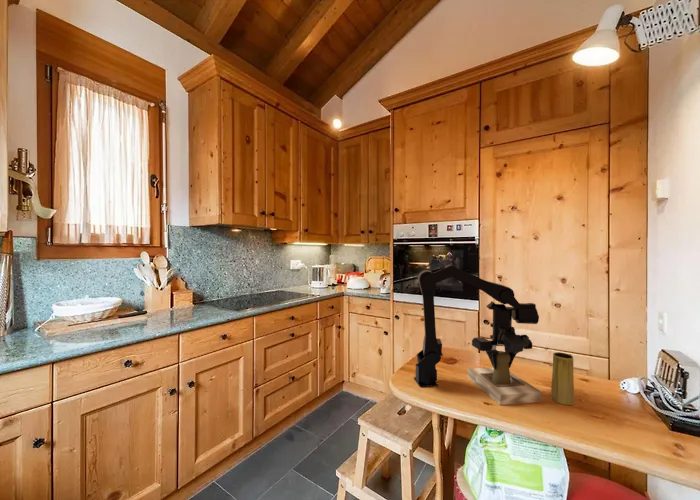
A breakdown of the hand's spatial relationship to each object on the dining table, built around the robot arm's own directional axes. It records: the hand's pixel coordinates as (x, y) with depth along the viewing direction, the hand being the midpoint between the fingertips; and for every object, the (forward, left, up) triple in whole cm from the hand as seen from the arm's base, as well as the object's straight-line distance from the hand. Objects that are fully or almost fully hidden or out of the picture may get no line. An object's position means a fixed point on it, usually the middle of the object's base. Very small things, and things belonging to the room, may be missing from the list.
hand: (501, 368), depth 100 cm
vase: (+14, -10, -7) cm, 19 cm away
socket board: (0, 0, -7) cm, 7 cm away
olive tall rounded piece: (0, 0, -6) cm, 6 cm away
